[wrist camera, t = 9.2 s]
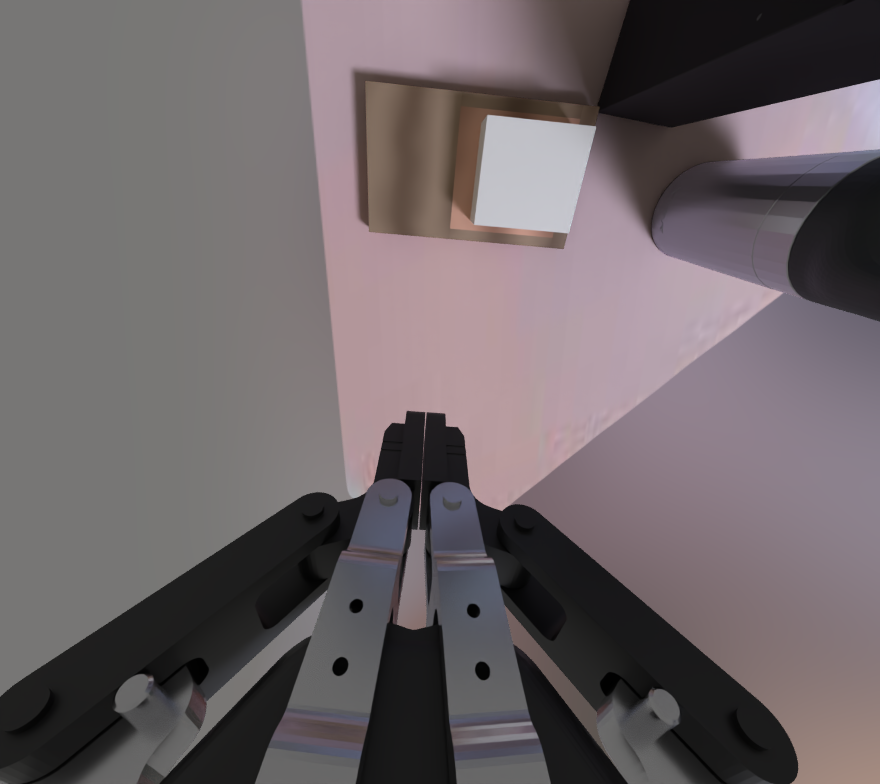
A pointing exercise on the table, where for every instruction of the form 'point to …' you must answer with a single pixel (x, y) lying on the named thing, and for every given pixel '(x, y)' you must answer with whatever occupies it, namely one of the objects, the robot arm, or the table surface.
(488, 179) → the carton
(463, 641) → the robot arm
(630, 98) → the black rectangular column
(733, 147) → the table surface
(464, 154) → the podium
